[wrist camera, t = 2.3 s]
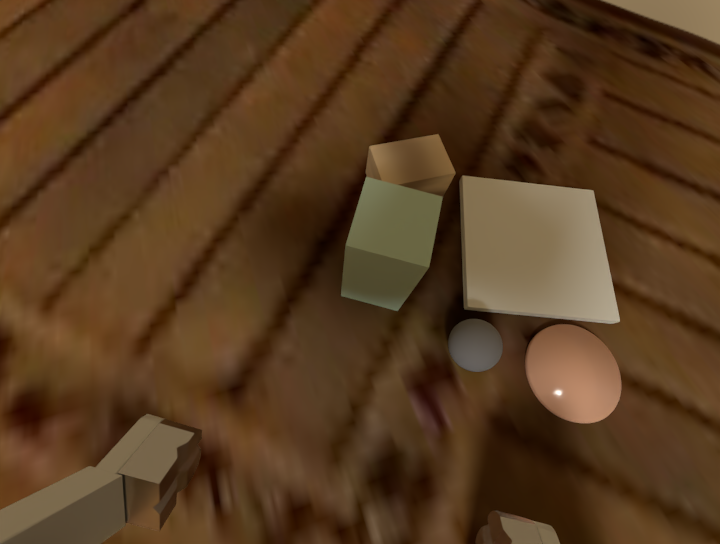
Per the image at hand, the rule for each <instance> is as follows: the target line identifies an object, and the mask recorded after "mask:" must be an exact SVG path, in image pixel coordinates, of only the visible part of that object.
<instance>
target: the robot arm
mask: <svg viewBox="0 0 720 544" xmlns="http://www.w3.org/2000/svg"><path fill="white" fill-rule="evenodd" d="M201 438H202V430H200V429H197V428H194V427H190V426H187V425H184V424H180V423H177V422H174V421H170V420H167V419H164V418H160V417H157V416H153V415H150V414H146V415H145V416H143V417H142V418H140V419H139V420H138V421H137V422H136V424H135V425H134V426H133V427H132V428H131V429H130V430H129V431H128V432H127V433H126V434H125V436H124V437H123V438H122V439H121V440H120V441H119V442H118V443H117V444H116V445H115V446H114V447H113V449H112V450H111V451H110V452H109V453H108V454H107V455H106V456H105V457H104V458H103V459H102V461H101V462H100V463H99V464H98V465H97V466H96V467H91V466H89V467H87V468H85V469H83V470H81V471H79V472H76V473H74V474H72V475H70V476H68V477H66V478H64V479H62V480H60V481H58V482H56V483H54V484H52V485H50V486H48V487H46V488H44V489H42V490H40V491H38V492H36V493H34V494H32V495H30V496H28V497H26V498H24V499H22V500H20V501H18V502H16V503H13V504H11V505H9V506H7V507H5V508H3V509H1V510H0V544H101V543H102V542H104V541H105V540H106V539H108V538H109V537H111V536H112V535H113V534H115V533H116V532H117V531H119V530H120V529H121V528H123V527H124V526H125V525H126V523H129V524H133V525H137V526H141V527H145V528H149V529H153V530H157V531H160V530H161V528H162V526H163V525H164V523H165V521H166V520H167V518H168V517H169V515H170V513H171V512H172V510H173V508H174V507H175V505H176V497H177V493H178V492H179V491H181V490H182V489H184V488H186V487H187V485H188V484H189V482H190V480H191V479H192V477H193V475H194V473H195V470H196V468H197V466H198V463H199V459H200V454H201V449H200V448H199V446H198V443H199V442H200V440H201ZM487 519H488V525H485V526H483V527H481V528H480V530H479V532H478V533H477V536H476V542H475V544H560V542H559V539H558V537H557V534H556V532H555V530H554V529H553V527H552V526H550V525H548V524H544V523H540V522H536V521H532V520H530V519H528V518H524V517H520V516H516V515H512V514H508V513H504V512H500V511H497V510H494V511H491V512H490V514H489V515H488V517H487Z"/></svg>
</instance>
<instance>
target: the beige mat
mask: <svg viewBox="0 0 720 544" xmlns="http://www.w3.org/2000/svg"><path fill="white" fill-rule="evenodd" d="M459 188H460V215H461V243H462V270H463V298H464V310H473V311H484V312H494V313H505V314H515V315H526V316H536V317H547V318H557V319H568V320H578V321H589V322H599V323H609V324H613V323H617V322H620V318H619V313H618V308H617V303H616V299H615V294H614V289H613V284H612V279H611V274H610V269H609V264H608V260H607V255H606V250H605V245H604V240H603V235H602V230H601V225H600V220H599V216H598V211H597V206H596V201H595V196H594V191H593V190H585V189H577V188H568V187H559V186H550V185H542V184H533V183H524V182H515V181H507V180H498V179H489V178H480V177H472V176H463V175H462V177H461V179H460V181H459Z"/></svg>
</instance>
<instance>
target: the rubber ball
mask: <svg viewBox="0 0 720 544" xmlns="http://www.w3.org/2000/svg"><path fill="white" fill-rule="evenodd" d="M448 348H449V352H450V354H451V357H452V358H453V360H454V361H455V362H456V363H457V364H458V365H459V366H461V367H462V368H464V369H466V370H469V371H474V372H480V371H485V370H488V369H490V368H492V367H493V366H494V365H495V364H496V363H497V362H498V361H499V359H500V357H501V355H502V350H503V344H502V339H501V336H500V334H499V333H498V331H497V330H496V329H495V328H494V327H493V326H492V325H491V324H490V323H488V322H486V321H484V320H480V319H467V320H464V321H462V322H460V323H458V324H457V325H456V326H455V327H454V328H453V329H452V331H451V333H450V335H449V339H448Z"/></svg>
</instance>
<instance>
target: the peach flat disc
mask: <svg viewBox="0 0 720 544" xmlns="http://www.w3.org/2000/svg"><path fill="white" fill-rule="evenodd" d="M525 371H526V376H527V379H528V382H529V385H530V387H531V389H532V391H533V393H534V394H535V396H536V397H537V399H538V400H539V401H540V402H541V403H542V405H543V406H544V407H546V408H547V409H548V410H549V411H550V412H552V413H553V414H555V415H556V416H558V417H560V418H562V419H564V420H567V421H571V422H576V423H593V422H597V421H600V420H602V419H604V418H606V417H607V416H608V415H610V414H611V412H612V411H613V410H614V409H615V407H616V406H617V403H618V401H619V398H620V394H621V377H620V372H619V368H618V366H617V363H616V361H615V359H614V357H613V355H612V354H611V352H610V350H609V349H608V348H607V347H606V345H605V344H604V343H603V342H602V341H601V340H600V339H599V338H597V337H596V336H595V335H594V334H592V333H591V332H589V331H587V330H585V329H583V328H581V327H578V326H574V325H569V324H558V325H554V326H550V327H547V328H545V329H543V330H541V331H540V332H538V333H537V334H536V335H535V336H534V337H533V339H532V340H531V341H530V343H529V345H528V348H527V351H526V355H525Z"/></svg>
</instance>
